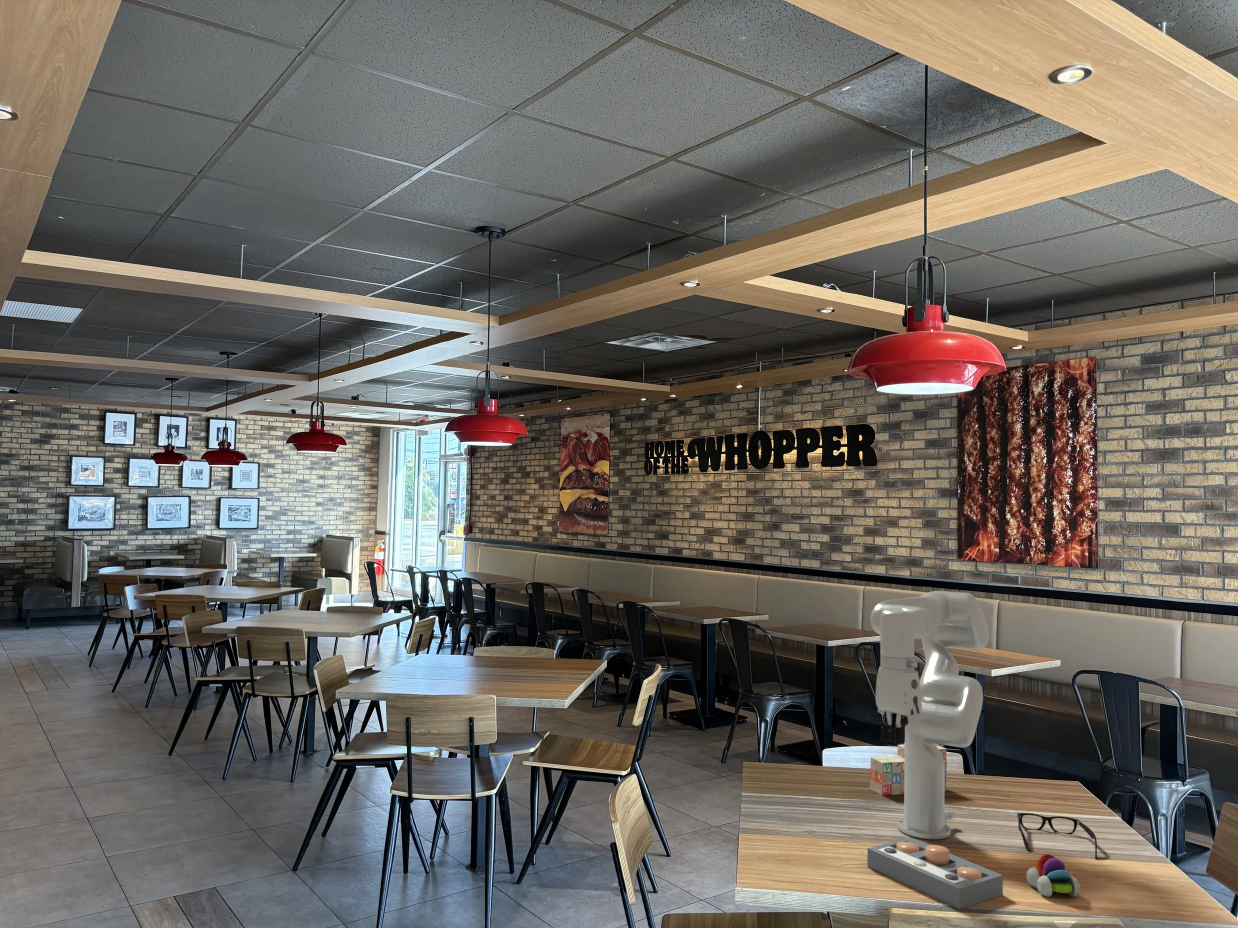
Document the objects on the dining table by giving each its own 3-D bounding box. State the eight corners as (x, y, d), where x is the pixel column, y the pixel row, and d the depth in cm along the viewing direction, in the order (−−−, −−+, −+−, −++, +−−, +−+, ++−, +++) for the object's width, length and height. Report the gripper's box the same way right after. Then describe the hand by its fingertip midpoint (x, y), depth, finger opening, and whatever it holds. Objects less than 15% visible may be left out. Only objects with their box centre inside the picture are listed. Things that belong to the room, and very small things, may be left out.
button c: (966, 879, 185) (966, 865, 186) (986, 888, 181) (986, 873, 182) (952, 884, 183) (952, 869, 183) (971, 893, 179) (971, 877, 179)
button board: (909, 854, 202) (909, 835, 202) (1002, 894, 182) (1002, 872, 182) (867, 866, 195) (867, 846, 195) (959, 909, 174) (959, 886, 174)
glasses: (1082, 838, 219) (1082, 817, 219) (1101, 861, 202) (1101, 839, 202) (1011, 830, 223) (1011, 810, 223) (1024, 852, 206) (1023, 830, 206)
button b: (935, 857, 192) (935, 843, 193) (954, 865, 188) (954, 850, 188) (920, 861, 190) (920, 847, 190) (939, 869, 186) (939, 854, 186)
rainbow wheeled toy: (1060, 882, 189) (1060, 847, 189) (1085, 901, 179) (1085, 865, 180) (1021, 881, 189) (1021, 847, 189) (1045, 901, 179) (1045, 865, 179)
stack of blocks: (881, 796, 245) (882, 751, 246) (869, 789, 251) (869, 745, 252) (946, 791, 251) (947, 747, 252) (933, 784, 257) (933, 742, 258)
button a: (906, 854, 199) (906, 840, 199) (923, 861, 195) (923, 847, 195) (891, 857, 197) (891, 843, 197) (909, 865, 192) (909, 851, 193)
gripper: (934, 667, 198) (935, 748, 198) (882, 656, 211) (883, 733, 210) (913, 670, 194) (913, 753, 194) (861, 659, 207) (861, 737, 206)
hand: (897, 742), depth 202 cm, fingers closed
